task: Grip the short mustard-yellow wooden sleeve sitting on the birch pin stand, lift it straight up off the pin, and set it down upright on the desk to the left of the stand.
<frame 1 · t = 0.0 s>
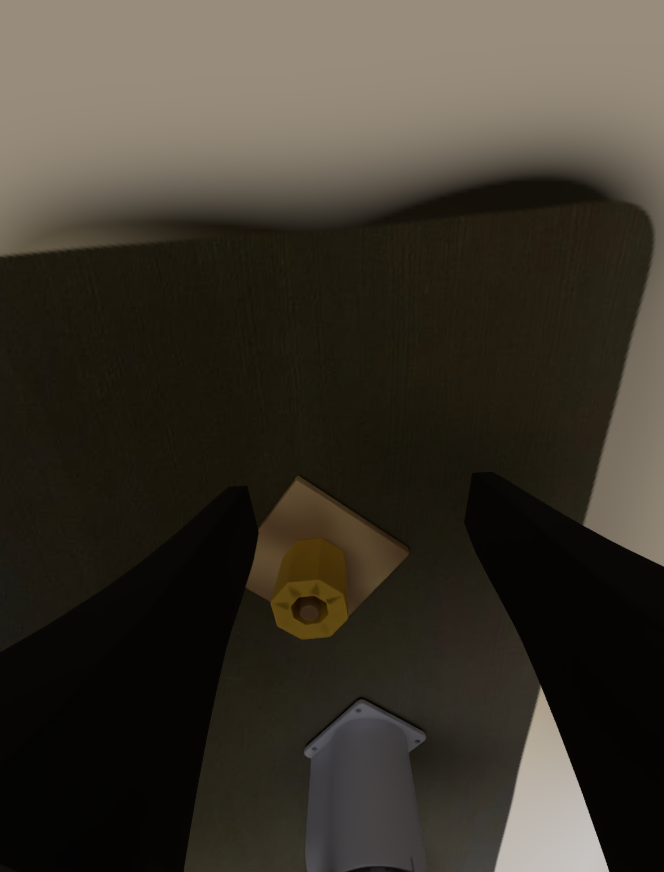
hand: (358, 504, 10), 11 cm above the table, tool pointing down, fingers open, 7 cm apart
sleeve: (314, 565, 22), point 1 cm above the table, touching stand
stand: (315, 557, 23), on the table
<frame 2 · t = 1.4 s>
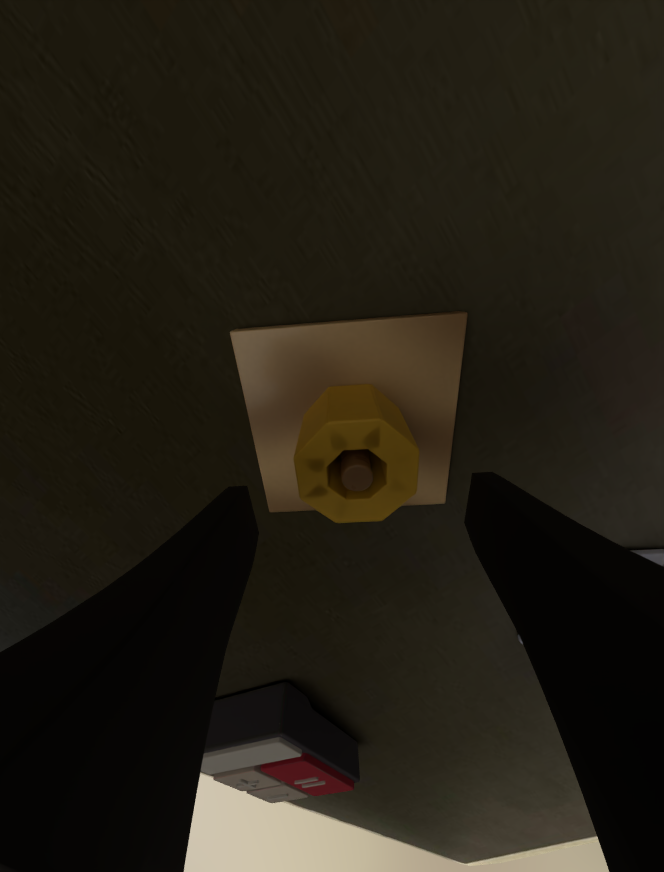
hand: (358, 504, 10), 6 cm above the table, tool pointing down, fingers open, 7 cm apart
calculator: (280, 721, 32), on the table
sleeve: (352, 429, 15), point 1 cm above the table, touching stand
stand: (351, 422, 16), on the table
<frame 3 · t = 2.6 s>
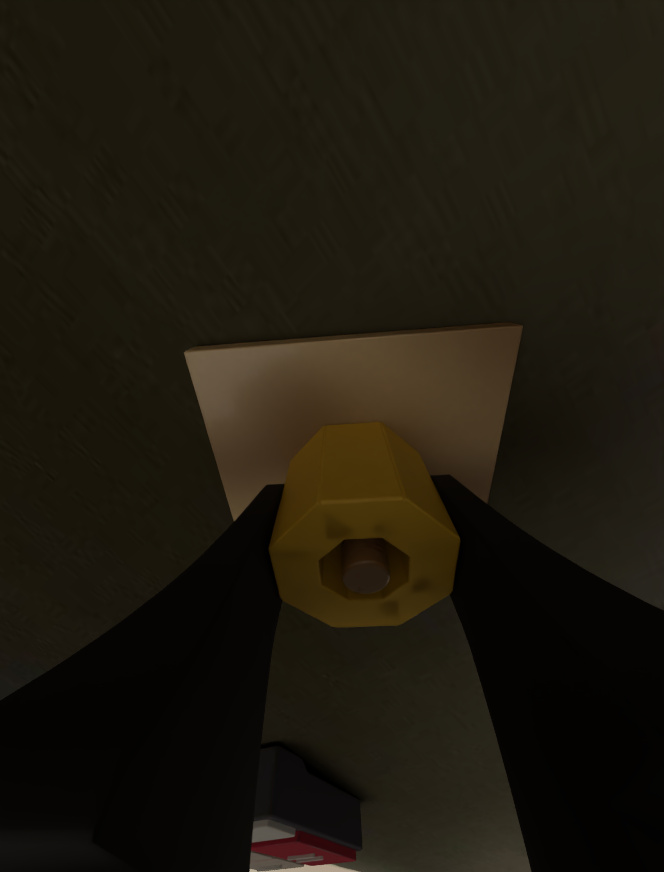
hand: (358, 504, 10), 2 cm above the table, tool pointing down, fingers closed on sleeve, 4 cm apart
calculator: (272, 780, 28), on the table
sleeve: (355, 479, 11), point 1 cm above the table, touching gripper, stand
stand: (354, 467, 12), on the table
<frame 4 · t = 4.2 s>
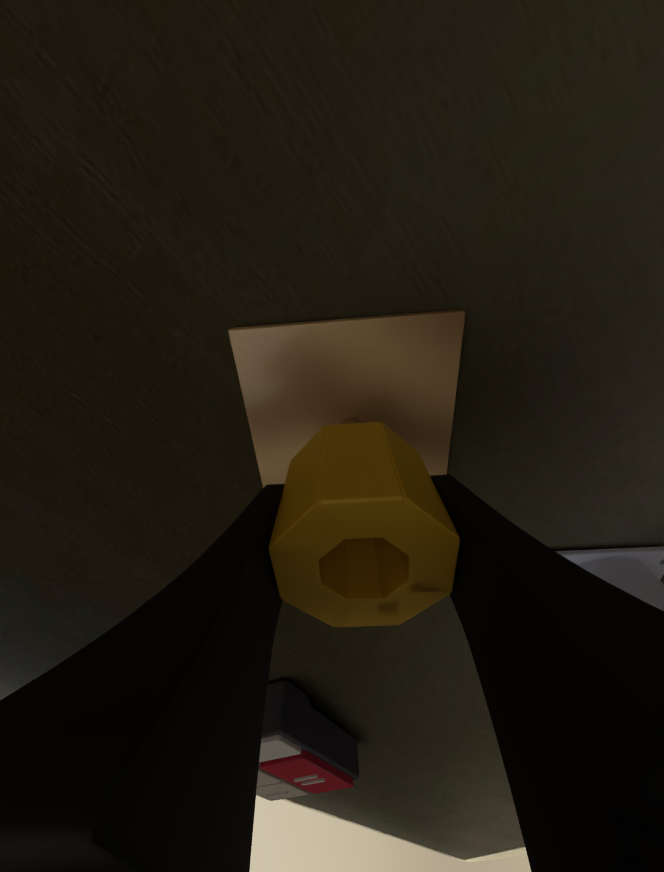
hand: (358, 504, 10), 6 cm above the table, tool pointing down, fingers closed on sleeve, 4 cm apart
calculator: (280, 719, 32), on the table
sleeve: (355, 478, 11), point 5 cm above the table, touching gripper
stand: (349, 421, 16), on the table
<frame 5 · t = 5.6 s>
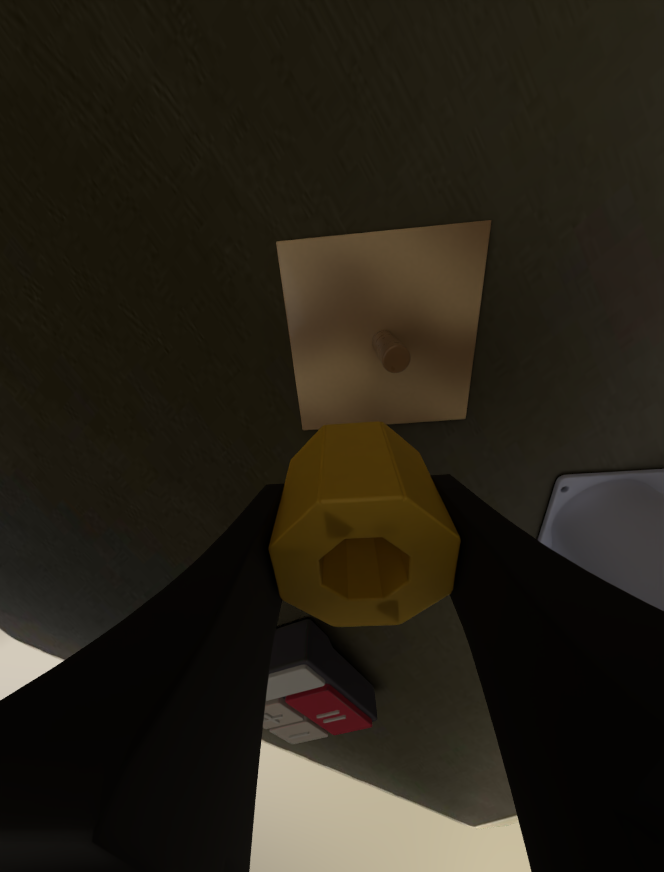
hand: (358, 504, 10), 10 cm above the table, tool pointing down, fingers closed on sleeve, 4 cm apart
calculator: (301, 665, 33), on the table
sleeve: (355, 478, 11), point 8 cm above the table, touching gripper
stand: (380, 338, 17), on the table
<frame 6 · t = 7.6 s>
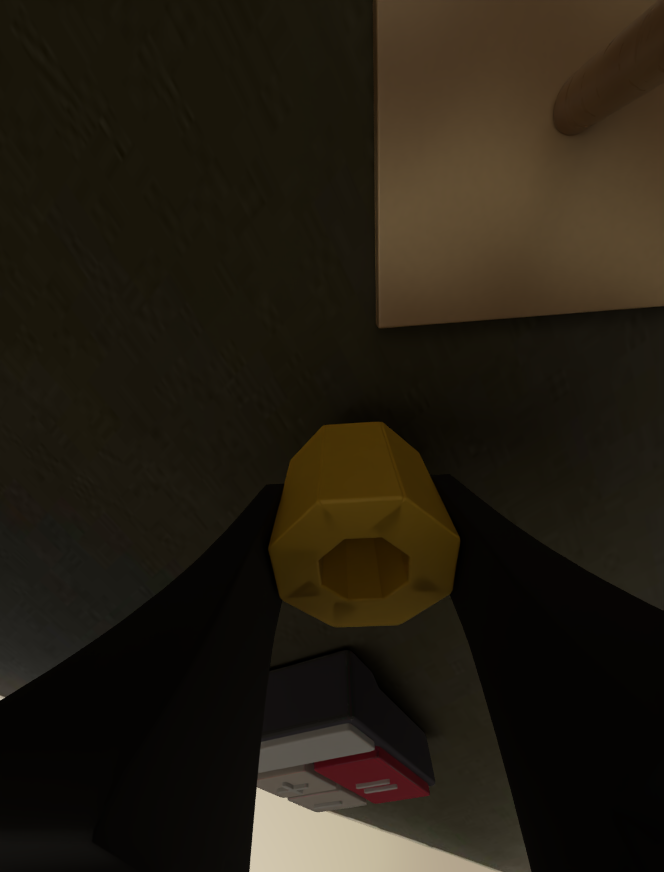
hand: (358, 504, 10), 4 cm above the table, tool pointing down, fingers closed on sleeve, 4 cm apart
calculator: (329, 707, 24), on the table
sleeve: (355, 478, 11), point 2 cm above the table, touching gripper
stand: (556, 119, 8), on the table
when the fingers open (1 cm above the table, at t = 8.8 s): sleeve stays where it is, on the table.
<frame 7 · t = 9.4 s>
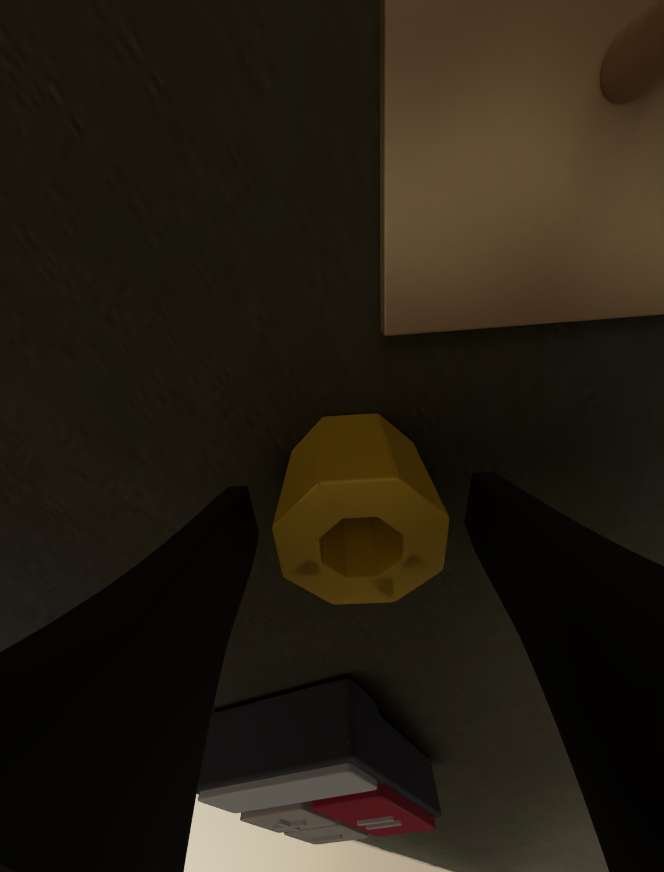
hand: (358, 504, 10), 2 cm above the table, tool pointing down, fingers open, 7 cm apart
calculator: (328, 733, 23), on the table
sleeve: (353, 468, 12), on the table
stand: (599, 86, 7), on the table
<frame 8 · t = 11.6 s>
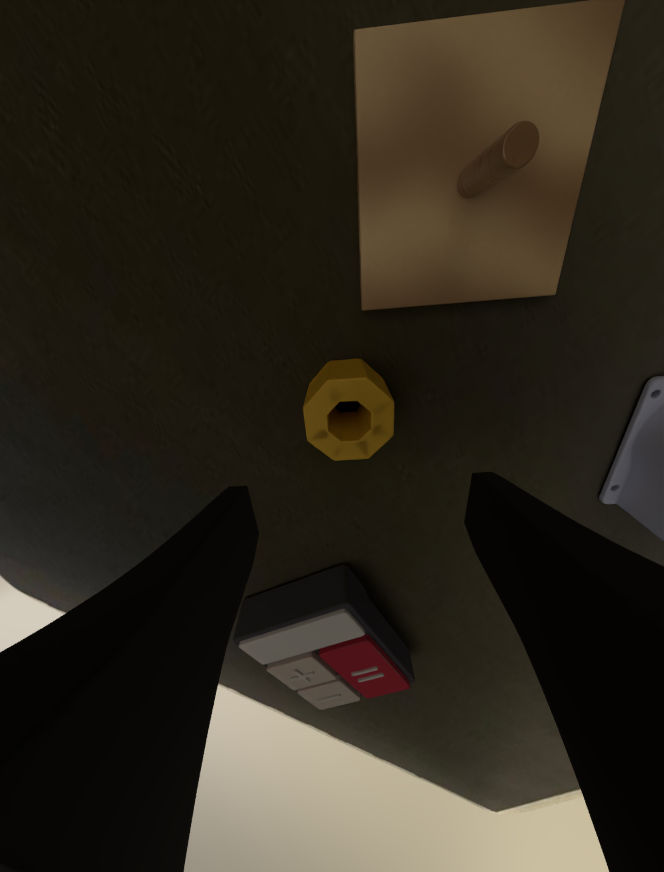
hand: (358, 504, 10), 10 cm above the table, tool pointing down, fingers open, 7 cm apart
calculator: (330, 623, 30), on the table
sleeve: (346, 395, 19), on the table
stand: (463, 186, 14), on the table
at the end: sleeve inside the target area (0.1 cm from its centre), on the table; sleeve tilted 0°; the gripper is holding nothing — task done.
